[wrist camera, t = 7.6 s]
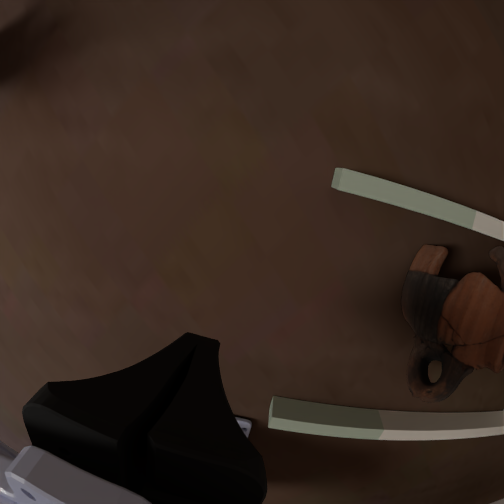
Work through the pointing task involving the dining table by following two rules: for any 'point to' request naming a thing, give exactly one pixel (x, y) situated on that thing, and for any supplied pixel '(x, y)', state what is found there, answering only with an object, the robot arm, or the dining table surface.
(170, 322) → the dining table surface
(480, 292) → the brown piece
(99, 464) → the robot arm
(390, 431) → the open rectangular rail frame
